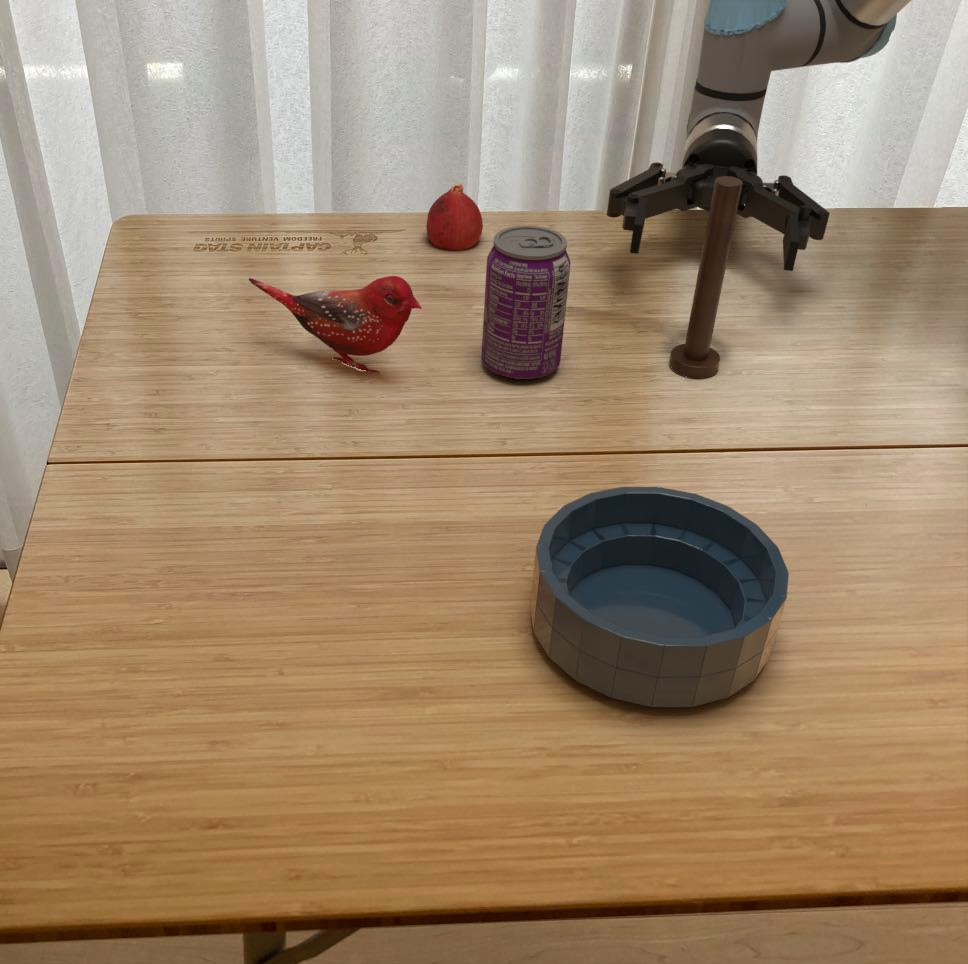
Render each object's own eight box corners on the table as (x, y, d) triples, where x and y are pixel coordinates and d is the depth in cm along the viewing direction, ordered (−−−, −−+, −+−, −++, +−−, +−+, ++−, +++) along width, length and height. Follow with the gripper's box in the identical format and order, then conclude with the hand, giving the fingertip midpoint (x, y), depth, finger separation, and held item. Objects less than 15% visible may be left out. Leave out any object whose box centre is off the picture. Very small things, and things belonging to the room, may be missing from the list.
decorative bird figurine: (412, 396, 96) (414, 290, 90) (244, 346, 102) (234, 243, 96) (428, 381, 98) (430, 276, 92) (262, 333, 104) (254, 232, 98)
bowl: (774, 579, 78) (793, 511, 74) (759, 741, 66) (781, 671, 62) (556, 535, 81) (564, 468, 78) (505, 683, 70) (511, 612, 66)
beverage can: (548, 344, 104) (560, 221, 96) (568, 383, 98) (583, 255, 91) (473, 349, 103) (480, 225, 95) (490, 389, 97) (498, 260, 90)
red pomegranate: (439, 273, 115) (441, 198, 110) (417, 251, 119) (418, 178, 114) (489, 264, 117) (494, 189, 112) (466, 242, 121) (469, 170, 116)
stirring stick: (720, 359, 102) (758, 174, 91) (715, 382, 99) (754, 194, 88) (672, 351, 103) (704, 168, 92) (665, 374, 100) (698, 187, 89)
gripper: (835, 212, 115) (847, 303, 99) (595, 187, 119) (569, 270, 103) (854, 139, 110) (870, 222, 94) (603, 116, 115) (577, 191, 98)
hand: (713, 247), depth 99 cm, fingers open, 13 cm apart
